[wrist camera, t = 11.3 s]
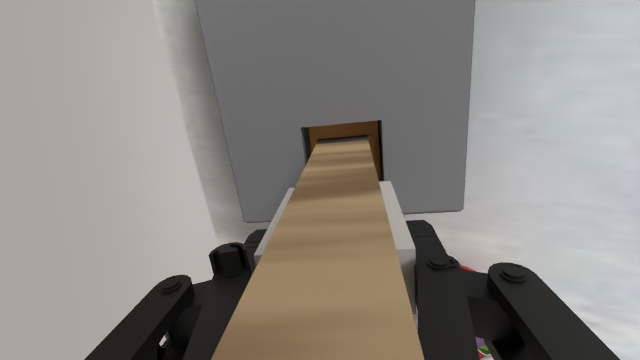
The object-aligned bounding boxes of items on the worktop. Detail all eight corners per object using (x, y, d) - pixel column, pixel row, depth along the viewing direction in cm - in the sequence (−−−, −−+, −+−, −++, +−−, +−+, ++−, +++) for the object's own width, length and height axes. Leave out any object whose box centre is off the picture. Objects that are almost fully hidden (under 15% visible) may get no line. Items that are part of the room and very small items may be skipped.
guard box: (219, -119, 26) (145, -224, 17) (436, -165, 24) (493, -317, 14) (272, 183, 35) (244, 225, 26) (431, 172, 33) (462, 214, 24)
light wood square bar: (318, 139, 25) (41, 705, 3) (366, 134, 25) (535, 792, 2) (323, 183, 26) (166, 820, 4) (369, 180, 26) (491, 890, 3)
